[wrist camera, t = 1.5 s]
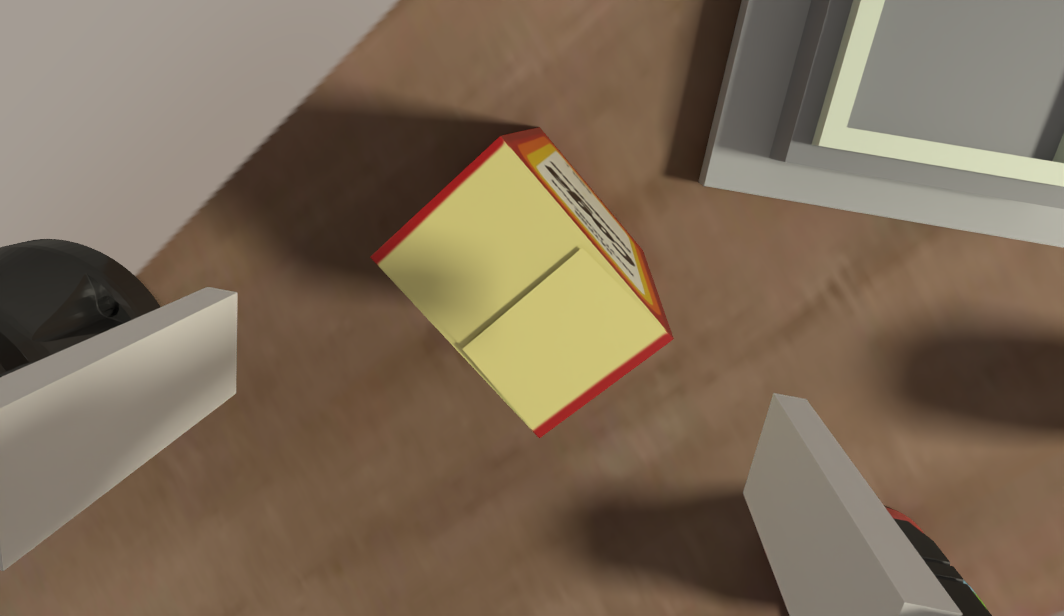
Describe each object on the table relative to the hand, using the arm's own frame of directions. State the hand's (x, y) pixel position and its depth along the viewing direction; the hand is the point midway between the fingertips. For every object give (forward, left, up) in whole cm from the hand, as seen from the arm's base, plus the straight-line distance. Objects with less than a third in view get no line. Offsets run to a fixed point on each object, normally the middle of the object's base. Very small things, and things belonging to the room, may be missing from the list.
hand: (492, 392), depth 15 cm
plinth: (+18, +14, -24) cm, 33 cm away
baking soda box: (0, 0, -24) cm, 24 cm away
